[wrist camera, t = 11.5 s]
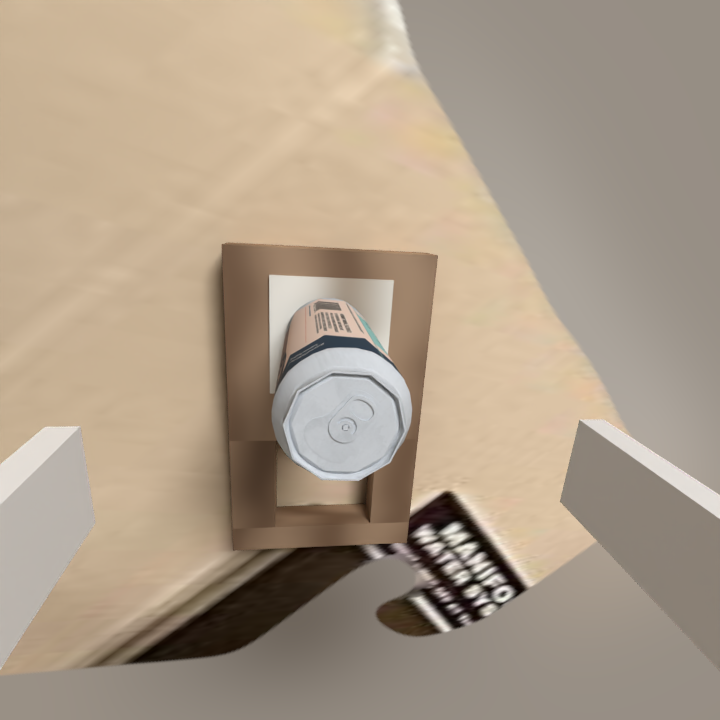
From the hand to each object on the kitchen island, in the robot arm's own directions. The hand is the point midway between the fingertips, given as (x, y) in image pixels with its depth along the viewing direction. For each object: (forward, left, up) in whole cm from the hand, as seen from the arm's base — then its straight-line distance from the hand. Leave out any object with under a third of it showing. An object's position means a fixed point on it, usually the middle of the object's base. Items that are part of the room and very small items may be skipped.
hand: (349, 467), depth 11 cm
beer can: (0, 0, -14) cm, 14 cm away
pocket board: (0, -5, -17) cm, 17 cm away
